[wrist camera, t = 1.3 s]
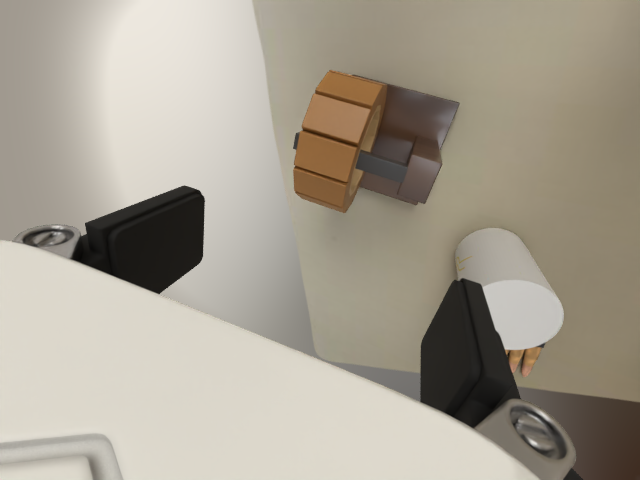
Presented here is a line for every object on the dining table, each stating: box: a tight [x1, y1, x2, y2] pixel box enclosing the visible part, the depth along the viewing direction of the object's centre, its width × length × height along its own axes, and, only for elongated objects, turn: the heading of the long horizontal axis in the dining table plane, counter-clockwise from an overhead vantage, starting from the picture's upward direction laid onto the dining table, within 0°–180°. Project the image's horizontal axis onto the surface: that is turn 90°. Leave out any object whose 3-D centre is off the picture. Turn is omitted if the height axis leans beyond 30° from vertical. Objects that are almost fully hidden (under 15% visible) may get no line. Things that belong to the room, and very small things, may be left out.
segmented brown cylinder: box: [293, 70, 387, 213], centre depth 30 cm, size 12×5×12 cm, turn 166°
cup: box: [455, 228, 564, 350], centre depth 34 cm, size 8×8×12 cm
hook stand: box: [293, 75, 460, 205], centre depth 32 cm, size 12×13×13 cm
